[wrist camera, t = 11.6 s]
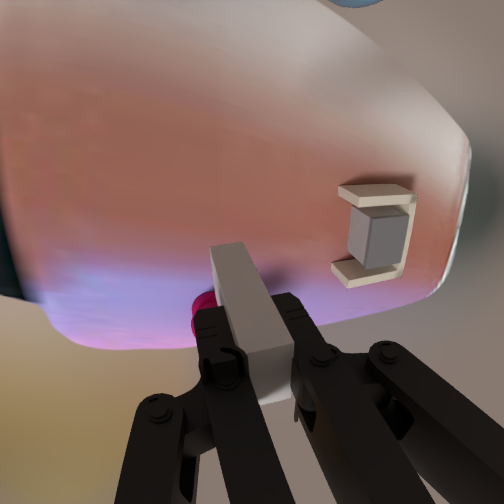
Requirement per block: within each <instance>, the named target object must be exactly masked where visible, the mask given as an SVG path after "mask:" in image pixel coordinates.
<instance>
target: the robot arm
mask: <svg viewBox="0 0 504 504" xmlns="http://www.w3.org/2000/svg"><path fill="white" fill-rule="evenodd" d="M328 1H330V2H332V3H334V4H336V5H338V6H341V7H348V8H350V7H351V8H360V7H365V6H369V5H372V4H375V3H378V2H380V1H382V0H328ZM209 248H210V257H211V265H212V273H213V280H214V288H215V295H216V300H217V304H218V306H217V307H211V308H205V309H199V310H197V311H196V314H195V316H194V318H193V323H194V330H195V336H196V342H197V348H198V354H199V365H198V366H199V370H200V374H201V378H200V380H199V382H198V383H197V385H196V386H195V387H194V388H193V389H192V390H190V391H188V392H186V393H184V394H182V395H180V396H178V397H173V396H172V395H169V394H164V393H160V394H154V395H151V396H149V397H146V398H145V399H144V400H143V401H142V402H141V403H140V404H139V406H138V408H137V410H136V413H135V417H134V421H133V425H132V428H131V432H130V436H129V441H128V444H127V448H126V452H125V457H124V461H123V465H122V469H121V474H120V478H119V483H118V487H117V492H116V497H115V502H114V504H196V496H197V495H196V494H197V484H198V473H199V462H200V454H203V453H204V452H206V451H209V450H211V449H213V448H215V447H216V448H217V453H218V457H219V461H220V465H221V469H222V474H223V478H224V482H225V485H226V489H227V493H228V497H229V501H230V504H296V503H295V501H294V498H293V496H292V493H291V491H290V488H289V485H288V483H287V480H286V478H285V475H284V472H283V469H282V467H281V464H280V461H279V459H278V456H277V453H276V450H275V448H274V445H273V442H272V439H271V436H270V434H269V431H268V428H267V426H266V422H265V420H264V417H263V414H262V411H261V408H260V405H264V404H267V403H272V402H276V401H280V400H284V399H288V398H290V397H291V390H292V392H293V394H294V396H295V399H296V402H295V411H294V420H295V422H297V421H298V417H299V419H300V421H301V423H302V426H303V428H304V430H305V433H306V435H307V437H308V439H309V442H310V444H311V446H312V449H313V451H314V453H315V455H316V458H317V460H318V462H319V464H320V467H321V469H322V471H323V473H324V476H325V478H326V480H327V482H328V485H329V487H330V489H331V491H332V494H333V496H334V498H335V500H336V502H337V504H435V502H434V500H433V499H432V497H431V495H430V494H429V492H428V490H427V489H426V487H425V485H424V484H423V482H422V481H421V479H420V477H419V475H420V476H421V477H422V478H424V480H426V481H427V482H428V483H429V484H430V485H431V486H432V487H433V488H434V489H435V490H436V491H437V492H438V493H439V494H440V495H441V496H442V497H443V498H445V499H446V500H447V501H448V502H449V503H450V504H504V428H503V427H501V426H500V425H499V424H498V423H496V422H495V421H494V420H493V419H492V418H490V417H489V416H488V415H487V414H486V413H484V412H483V411H482V410H481V409H480V408H478V407H477V406H476V405H475V404H473V403H472V402H471V401H470V400H469V399H467V398H466V397H465V396H464V395H463V394H461V393H460V392H459V391H458V390H456V389H455V388H454V387H453V386H451V385H450V384H449V383H448V382H446V381H445V380H444V379H443V378H442V377H440V376H439V375H438V374H437V373H435V372H434V371H433V370H432V369H430V368H429V367H428V366H427V365H425V364H424V363H423V362H422V361H420V360H419V359H418V358H417V357H415V356H414V355H413V354H412V353H410V352H409V351H408V350H407V349H405V348H404V347H403V346H401V345H400V344H398V343H396V342H392V341H380V342H377V343H374V344H373V345H372V346H371V347H370V350H369V353H353V354H351V353H343V352H341V351H340V350H339V349H338V348H337V347H335V346H333V345H331V344H328V343H326V342H325V340H324V338H323V337H322V335H321V333H320V332H319V330H318V329H317V327H316V325H315V324H314V322H313V321H312V319H311V317H309V314H308V313H307V311H306V309H304V306H303V305H302V303H301V301H300V300H299V299H298V298H297V297H295V296H294V295H292V294H291V293H289V292H288V293H282V294H277V295H272V296H270V294H269V292H268V290H267V288H266V286H265V284H264V283H263V281H262V279H261V277H260V275H259V273H258V271H257V269H256V267H255V265H254V263H253V261H252V259H251V257H250V255H249V253H248V251H247V249H246V247H245V245H244V243H243V242H237V243H230V244H224V245H217V246H211V247H209ZM417 473H418V474H419V475H418V474H417Z"/></svg>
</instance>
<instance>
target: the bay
mask: <svg viewBox="0 0 504 504" xmlns="http://www.w3.org/2000/svg"><path fill="white" fill-rule="evenodd" d="M338 195H339V196H341V197H342V198H344V199H345V200H347V201H349V202H350V203H352V204H354V205H355V206H357V207H370V206H383V205H389V206H391V207H392V208H394V209H396V210H398V211H399V212H401V213H403V214H408V215H409V216H410V217H409V223H408V228H407V234H406V239H405V244H404V249H403V254H402V259H401V263H397V264H392V265H387V266H382V267H377V268H372V269H366V270H365V269H364V268H363V265H362V264H361V263H360V262H359V261H358V260H357V259H351V260H345V261H339V262H333V263H332V264H331V271H332V272H333V273H334V274H335V275H336V277H337V278H338V279H339V280H340V281H341V282H342V283H343V284H344V285H345V287H346V288H347V289H348V288H353V287H357V286H362V285H366V284H371V283H376V282H380V281H384V280H389V279H393V278H397V277H402V274H403V269H404V265H405V261H406V256H407V251H408V247H409V242H410V237H411V231H412V226H413V220H414V215H415V208H416V202H417V196H418V194H416V193H414V192H412V191H410V190H408V189H406V188H404V187H402V186H399V185H397V184H364V185H341V186H339V188H338Z"/></svg>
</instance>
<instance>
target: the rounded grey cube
mask: <svg viewBox="0 0 504 504" xmlns="http://www.w3.org/2000/svg"><path fill="white" fill-rule="evenodd" d="M409 217H410V216H409V215H408V214H403V213H401V212H399V211H398V210H396V209H394V208H392V207H391V206H389V205H383V206H370V207H357V206H352V208H351V217H350V227H349V235H348V244H347V251H348V252H349V253H350V254H351V255H353V256H354V257H355V258H356V259H357V260H358V261H359V262H360V263H361V264H362V265H363V268H364V269H365V270H366V269H372V268H377V267H382V266H387V265H392V264H397V263H401V259H402V254H403V249H404V244H405V239H406V234H407V228H408V223H409Z"/></svg>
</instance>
